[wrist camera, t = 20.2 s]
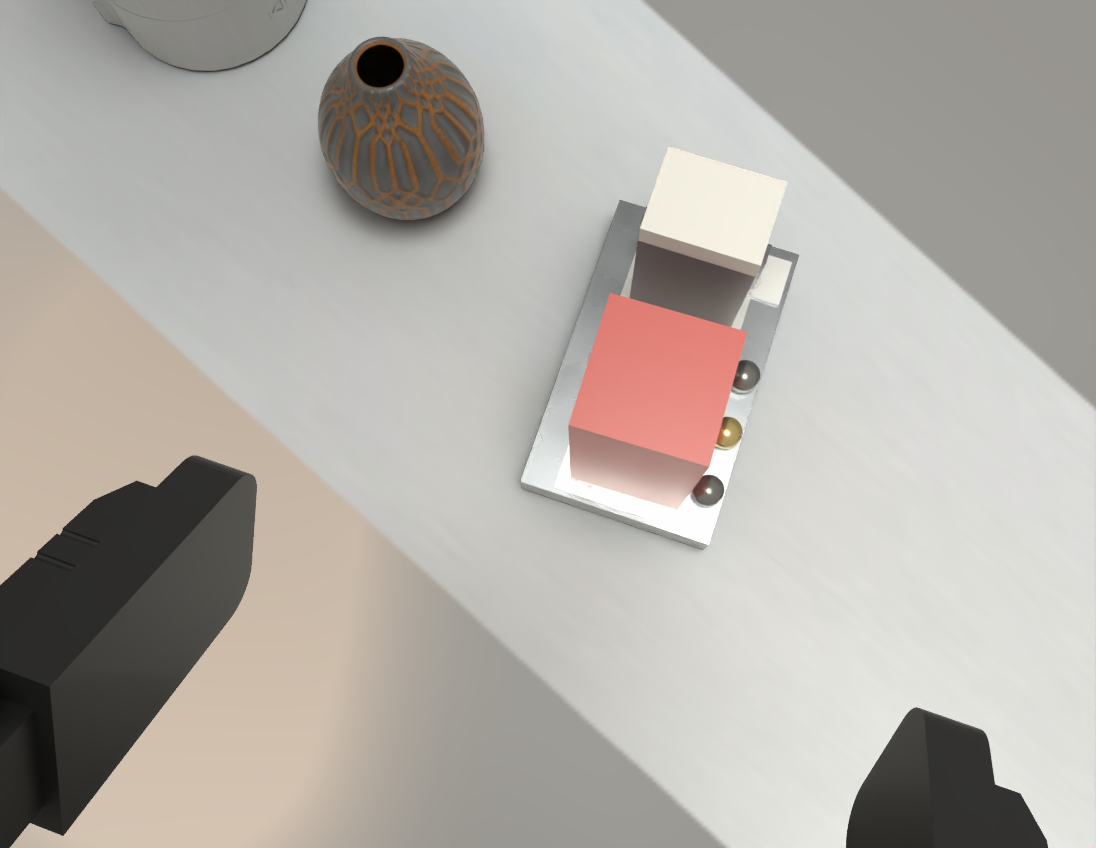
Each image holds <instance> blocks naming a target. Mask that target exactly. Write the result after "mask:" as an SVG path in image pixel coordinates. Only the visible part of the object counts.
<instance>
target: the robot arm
mask: <svg viewBox="0 0 1096 848" xmlns="http://www.w3.org/2000/svg"><path fill="white" fill-rule="evenodd" d="M91 2H92V3H93V4H94V6H95V7H96V8H97V10H98V11H99V12H100V14H101V15H102V16H103V18H104V19H105V20H106V21H107V22H109V23H113V24H117V25H120V26H123V27H125V28H126V29H127V30H128V31H129V32H130V33H131V34H132V35H133V37H134V38H135V39H136V40H137V42H138V43H139V44H140V45H141V47H143V48H144V49H145V50H147V51H148V52H149V53H151V54H152V55H153V56H154V57H156V58H158V59H160V60H162V61H164V62H166V63H169V64H171V65H173V66H177V67H181V68H185V69H190V70H204V71H215V70H221V69H227V68H233V67H236V66H239V65H241V64H244V63H247V62H250V61H252V60H254V59H256V58H258V57H259V56H261V55H263V54H264V53H266V52H268V51H269V50H271V49H272V48H273V47H274V46H275V45H276V44H278V43H279V42H280V41H281V40H282V39H283V38H284V37H285V36H286V35H287V34H288V32H289V31H290V30H291V28H292V27H293V26H294V24H295V23H296V22H297V20H298V18H299V16H300V14H301V12H302V10H303V7H304V5H305V2H306V0H91ZM256 492H257V484H256V480H255V477H254V476H253V475H251V474H249V473H246V472H243V471H240V470H237V469H234V468H231V467H228V466H225V465H222V464H219V463H217V462H214V461H211V460H208V459H205V458H202V457H199V456H191V457H189V458H187V459H185V460H184V461H183V462H182V463H181V464H180V465H179V466H178V467H177V468H176V469H175V470H174V471H173V472H172V473H171V474H170V475H169V476H168V477H167V478H165V480H164V481H162V482H161V483H160V484H159V485H158V486H157V487H153V486H150V485H147V484H144V483H141V482H139V481H135V482H133V483H131V484H129V485H126V486H124V487H122V488H120V489H117V490H115V491H113V492H111V493H109V494H106V495H104V496H102V497H100V498H97V499H95V500H93V501H92V502H91V503H90V504H89V505H88V506H87V507H86V508H85V509H83V510H82V511H81V512H80V513H79V514H78V515H77V516H76V517H75V518H74V519H73V520H71V521H70V522H69V523H68V524H67V525H66V526H65V527H64V528H63V531H62V533H61V534H60V535H58V534H56V535H55V536H54V537H53V538H52V539H51V540H50V541H48V542H47V543H46V544H45V545H44V546H43V547H42V548H41V549H40V550H38V552H37V555H36V557H35V558H30V559H29V560H28V561H26V562H25V563H24V564H23V565H22V566H21V567H20V568H19V569H18V570H17V571H15V573H13V575H11V576H10V577H9V578H8V579H7V580H6V581H5V582H3V583H2V584H1V585H0V848H9V847H11V845H12V844H13V843H14V842H15V840H16V839H17V838H18V837H19V835H20V834H21V833H22V832H23V831H24V829H25V828H26V827H27V825H28V824H29V823H32V824H34V825H37V826H39V827H42V828H44V829H47V830H50V831H52V832H55V833H57V834H60V835H62V836H63V835H64V834H65V833H66V832H67V830H68V829H69V828H70V827H71V825H72V824H73V823H74V821H75V820H76V819H77V817H78V816H79V815H80V814H81V812H82V811H83V810H84V808H85V807H86V806H87V804H88V803H89V802H90V800H91V799H92V798H93V796H94V795H95V794H96V793H97V791H98V790H99V789H100V787H101V786H102V785H103V784H104V782H105V781H106V780H107V778H108V777H109V776H110V774H111V773H112V772H113V771H114V769H115V768H116V767H117V765H118V764H119V763H120V761H121V760H122V759H123V757H124V756H125V755H126V754H127V752H128V751H129V750H130V748H131V747H132V746H133V744H134V743H135V742H136V741H137V739H138V738H139V737H140V735H141V734H142V733H143V731H144V730H145V729H146V728H147V726H148V725H149V724H150V722H151V721H152V720H153V718H154V717H155V716H156V715H157V713H158V712H159V711H160V709H161V708H162V707H163V705H164V704H165V703H166V702H167V700H168V699H169V697H170V696H171V695H172V694H173V692H174V691H175V690H176V688H177V687H178V686H179V685H180V683H181V682H182V681H183V679H184V678H185V677H186V675H187V674H188V673H189V672H190V670H191V669H192V668H193V666H194V665H195V664H196V662H197V661H198V660H199V658H200V657H201V656H202V655H203V653H204V652H205V651H206V649H207V648H208V647H209V646H210V644H211V643H212V642H213V640H214V639H215V638H216V636H217V635H218V634H219V633H220V631H221V630H222V629H223V627H224V626H225V625H226V623H227V622H228V621H229V619H230V618H231V617H232V615H233V614H234V612H235V611H236V609H237V607H238V605H239V603H240V601H241V599H242V597H243V595H244V592H245V590H246V587H247V584H248V580H249V577H250V572H251V565H252V551H253V537H254V522H255V507H256ZM846 848H1048V845H1047V840H1046V838H1045V837H1044V835H1043V833H1042V831H1041V829H1040V828H1039V826H1038V824H1037V822H1036V821H1035V819H1034V817H1033V815H1032V813H1031V812H1030V810H1029V808H1028V806H1027V805H1026V803H1025V801H1024V799H1023V797H1022V796H1021V794H1020V793H1017V792H1015V791H1012V790H1009V789H1006V788H1003V787H1000V786H997V785H995V782H994V775H993V768H992V761H991V754H990V747H989V742H988V738H987V736H986V734H985V732H984V731H982V730H981V729H978V728H975V727H972V726H969V725H966V724H964V723H961V722H958V721H955V720H952V719H949V718H946V717H943V716H940V715H938V714H935V713H932V712H929V711H926V710H923V709H920V708H913V709H912V710H910V711H909V712H908V713H907V715H906V716H905V718H904V719H903V721H902V722H901V724H900V725H899V727H898V729H897V730H896V732H895V733H894V735H893V736H892V738H891V740H890V741H889V743H888V744H887V746H886V748H885V749H884V751H883V752H882V754H881V756H880V757H879V759H878V760H877V762H876V764H875V765H874V767H873V768H872V770H871V772H870V773H869V775H868V776H867V778H866V779H865V781H864V783H863V784H862V786H861V788H860V790H859V792H858V794H857V796H856V799H855V801H854V804H853V807H852V811H851V815H850V819H849V824H848V830H847V838H846Z"/></svg>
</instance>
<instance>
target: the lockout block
mask: <svg viewBox="0 0 1096 848" xmlns="http://www.w3.org/2000/svg"><path fill="white" fill-rule="evenodd" d="M746 335H747V332H746V331H743V330H739V329H736V328H732V327H729V326H725V325H722V324H718V323H715V322H711V321H707V320H704V319H700V318H697V317H693V316H690V315H686V314H683V313H679V312H676V311H672V310H669V309H665V308H662V307H658V306H655V305H651V304H648V303H644V302H641V301H637V300H633V299H630V298H626V297H623V296H619V295H616V294H612V293H610V294H609V297H608V300H607V303H606V307H605V310H604V313H603V316H602V319H601V323H600V326H599V329H598V332H597V335H596V339H595V342H594V345H593V348H592V351H591V355H590V358H589V361H588V364H587V367H586V371H585V374H584V377H583V380H582V383H581V387H580V390H579V393H578V396H577V399H576V403H575V406H574V409H573V412H572V415H571V419H570V422H569V425H568V427H569V455H570V478H573V479H577V480H580V481H583V482H587V483H590V484H593V485H596V486H600V487H603V488H606V489H610V490H613V491H616V492H620V493H623V494H626V495H630V496H633V497H636V498H640V499H643V500H646V501H650V502H653V503H656V504H660V505H663V506H666V507H669V508H673V509H676V510H678V509H679V507H680V506H681V505H682V503H683V502H684V501H685V499H686V498H687V496H688V495H689V494H690V492H691V491H692V490H693V488H694V487H695V486H696V484H697V483H698V482H699V480H700V479H701V478H702V476H703V475H704V474H705V472H706V471H707V469H708V468H709V467H710V463H711V459H712V456H713V452H714V449H715V445H716V442H717V438H718V435H719V431H720V427H721V424H722V420H723V417H724V413H725V410H726V406H727V403H728V399H729V395H730V392H731V388H732V385H733V381H734V378H735V374H736V370H737V367H738V363H739V360H740V356H741V353H742V349H743V346H744V342H745V338H746Z"/></svg>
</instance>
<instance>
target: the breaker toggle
mask: <svg viewBox="0 0 1096 848" xmlns="http://www.w3.org/2000/svg"><path fill="white" fill-rule="evenodd" d="M786 185H787V182H786V181H782V180H779V179H776V178H772V177H769V176H766V175H762V174H759V173H756V172H752V171H749V170H746V169H742V168H739V167H736V166H732V165H729V164H726V163H722V162H719V161H716V160H712V159H709V158H706V157H702V156H699V155H696V154H692V153H689V152H686V151H682V150H679V149H676V148H672V147H669V146H668V149H667V152H666V155H665V158H664V160H663V163H662V166H661V169H660V172H659V175H658V178H657V181H656V183H655V186H654V189H653V192H652V195H651V198H650V201H649V204H648V207H647V209H646V212H645V215H644V218H643V221H642V224H641V227H640V231H639V238H638V244H637V251H636V257H635V264H634V270H633V277H632V284H631V290H630V297H629V298H630V299H633V300H637V301H641V302H644V303H648V304H651V305H655V306H658V307H662V308H665V309H669V310H672V311H676V312H679V313H683V314H686V315H690V316H693V317H697V318H700V319H704V320H707V321H711V322H715V323H718V324H722V325H725V326H729V327H731V326H732V324H733V322H734V320H735V318H736V316H737V314H738V312H739V310H740V308H741V306H742V304H743V301H744V299H745V297H746V295H747V293H748V291H749V289H750V287H751V285H752V283H753V281H754V279H755V277H756V275H757V273H758V271H759V268H760V266H761V264H762V261H763V257H764V254H765V251H766V248H767V245H768V242H769V239H770V235H771V232H772V229H773V226H774V223H775V220H776V217H777V213H778V210H779V207H780V204H781V201H782V198H783V195H784V191H785V188H786Z"/></svg>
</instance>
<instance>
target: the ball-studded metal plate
mask: <svg viewBox="0 0 1096 848" xmlns="http://www.w3.org/2000/svg"><path fill="white" fill-rule="evenodd" d="M646 209H647V207H646V208H645V207H642V206H638V205H635V204H632V203H629V202H625V201H622V200H620V201H619V204H618V207H617V209H616V212H615V215H614V218H613V221H612V224H611V226H610V229H609V232H608V235H607V238H606V240H605V243H604V246H603V249H602V252H601V255H600V257H599V260H598V263H597V266H596V269H595V272H594V274H593V277H592V280H591V283H590V286H589V289H588V291H587V294H586V297H585V300H584V303H583V306H582V308H581V311H580V314H579V317H578V320H577V322H576V325H575V328H574V331H573V334H572V337H571V339H570V342H569V345H568V348H567V351H566V354H565V356H564V359H563V362H562V365H561V368H560V371H559V373H558V376H557V379H556V382H555V385H554V387H553V390H552V393H551V396H550V399H549V402H548V404H547V407H546V410H545V413H544V416H543V419H542V421H541V424H540V427H539V430H538V433H537V436H536V438H535V441H534V444H533V447H532V450H531V453H530V455H529V458H528V461H527V464H526V467H525V469H524V472H523V475H522V478H521V481H520V482H521V485H522V488H523V489H525V490H528V491H531V492H534V493H537V494H540V495H543V496H546V497H548V498H551V499H554V500H557V501H560V502H563V503H566V504H569V505H572V506H575V507H578V508H581V509H584V510H587V511H590V512H593V513H596V514H599V515H602V516H605V517H608V518H611V519H613V520H616V521H619V522H622V523H625V524H628V525H631V526H634V527H637V528H640V529H643V530H646V531H649V532H652V533H655V534H658V535H661V536H664V537H667V538H670V539H673V540H676V541H679V542H681V543H684V544H687V545H690V546H693V547H696V548H699V549H702V550H703V549H704V548H705V547H707V546H708V545H709V543H710V539H711V536H712V533H713V530H714V526H715V523H716V520H717V517H718V514H719V510H720V507H721V504H722V501H723V498H724V494H725V491H726V488H727V485H728V482H729V478H730V475H731V472H732V469H733V465H734V462H735V459H736V456H737V453H738V449H739V446H740V443H741V440H742V437H743V433H744V430H745V427H746V424H747V420H748V417H749V414H750V411H751V408H752V404H753V401H754V398H755V395H756V392H757V388H758V385H759V382H760V379H761V376H762V372H763V369H764V366H765V363H766V359H767V356H768V353H769V350H770V347H771V343H772V340H773V337H774V334H775V331H776V327H777V324H778V321H779V318H780V314H781V311H782V308H783V305H784V302H785V298H786V295H787V292H788V289H789V286H790V282H791V279H792V276H793V273H794V270H795V266H796V263H797V260H798V257H799V255H798V254H795V253H791V252H788V251H785V250H782V249H778V248H775V247H772V245H770V244H768V245H767V248H766V251H765V254H764V257H763V261H762V264H761V266H760V268H759V271H758V273H757V275H756V277H755V279H754V281H753V283H752V285H751V287H750V289H749V291H748V293H747V295H746V297H745V299H744V301H743V304H742V306H741V308H740V310H739V312H738V314H737V316H736V318H735V320H734V322H733V324H732V326H731V327H732V328H736V329H739V330H743V331H746V332H747V335H746V338H745V342H744V346H743V349H742V353H741V356H740V360H739V363H738V367H737V370H736V374H735V378H734V381H733V385H732V388H731V392H730V395H729V399H728V403H727V406H726V410H725V413H724V417H723V420H722V424H721V427H720V431H719V435H718V438H717V442H716V445H715V449H714V452H713V456H712V459H711V463H710V467H709V468H708V469H707V471H706V472H705V474H704V475H703V476H702V478H701V479H700V480H699V482H698V483H697V484H696V486H695V487H694V488H693V490H692V491H691V492H690V494H689V495H688V496H687V498H686V499H685V501H684V502H683V503H682V505H681V506H680V507H679V509H678V510H676V509H673V508H669V507H666V506H663V505H660V504H656V503H653V502H650V501H646V500H643V499H640V498H636V497H633V496H630V495H626V494H623V493H620V492H616V491H613V490H610V489H606V488H603V487H600V486H596V485H593V484H590V483H587V482H583V481H580V480H577V479H573V478H570V455H569V427H568V425H569V422H570V419H571V415H572V412H573V409H574V406H575V403H576V399H577V396H578V393H579V390H580V387H581V383H582V380H583V377H584V374H585V371H586V367H587V364H588V361H589V358H590V355H591V351H592V348H593V345H594V342H595V339H596V335H597V332H598V329H599V326H600V323H601V319H602V316H603V313H604V310H605V307H606V303H607V300H608V297H609V294H610V293H612V294H616V295H619V296H623V297H626V298H629V297H630V290H631V284H632V277H633V270H634V264H635V257H636V251H637V244H638V238H639V231H640V227H641V224H642V221H643V218H644V215H645V212H646Z"/></svg>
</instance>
